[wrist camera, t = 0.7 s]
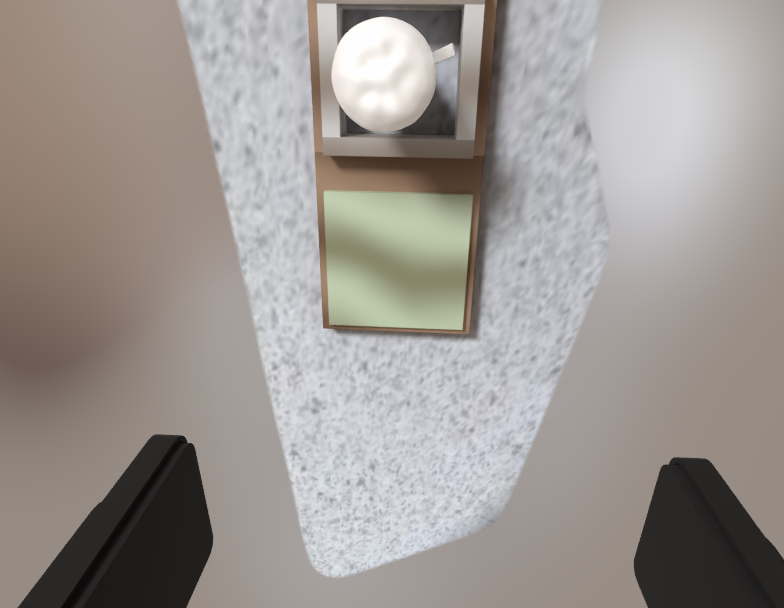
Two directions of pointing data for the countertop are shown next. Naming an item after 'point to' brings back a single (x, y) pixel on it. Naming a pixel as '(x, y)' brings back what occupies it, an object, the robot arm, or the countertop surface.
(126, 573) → the robot arm
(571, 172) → the countertop surface
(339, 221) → the board
